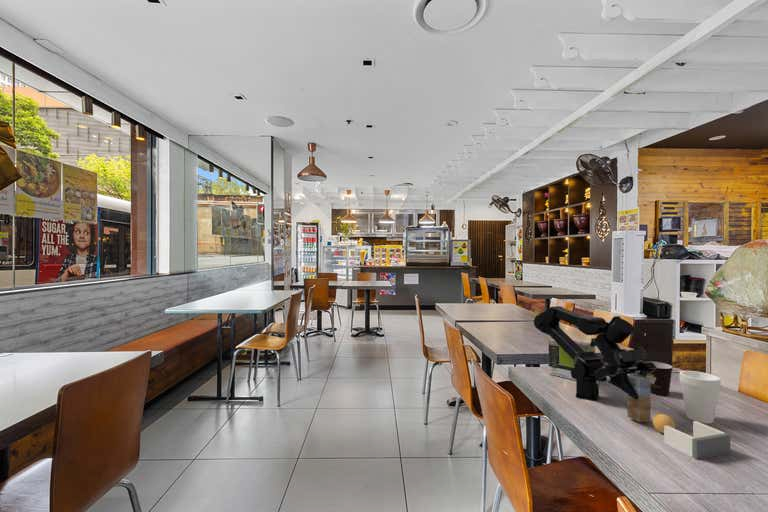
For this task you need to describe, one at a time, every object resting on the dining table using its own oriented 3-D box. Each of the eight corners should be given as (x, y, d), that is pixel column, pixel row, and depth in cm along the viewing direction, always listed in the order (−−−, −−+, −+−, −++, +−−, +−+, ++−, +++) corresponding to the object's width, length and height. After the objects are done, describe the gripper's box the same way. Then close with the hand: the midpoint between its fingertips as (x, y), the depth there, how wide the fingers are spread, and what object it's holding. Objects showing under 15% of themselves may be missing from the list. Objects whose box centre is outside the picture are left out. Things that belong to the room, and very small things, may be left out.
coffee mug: (679, 397, 128) (678, 368, 128) (653, 397, 128) (653, 368, 128) (655, 385, 139) (654, 359, 139) (632, 385, 139) (631, 359, 139)
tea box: (596, 378, 148) (595, 341, 148) (586, 383, 142) (586, 345, 142) (558, 369, 160) (558, 335, 160) (547, 374, 153) (547, 339, 153)
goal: (664, 443, 96) (664, 425, 96) (696, 437, 99) (695, 421, 99) (696, 459, 89) (696, 440, 89) (730, 453, 91) (730, 434, 91)
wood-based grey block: (627, 416, 111) (627, 375, 111) (638, 415, 112) (637, 374, 112) (639, 422, 107) (639, 379, 107) (650, 420, 108) (650, 378, 108)
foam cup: (711, 428, 105) (711, 382, 105) (673, 415, 113) (673, 373, 113) (726, 421, 109) (726, 377, 109) (689, 409, 117) (689, 369, 117)
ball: (653, 434, 101) (653, 416, 101) (651, 426, 106) (651, 409, 106) (676, 438, 99) (676, 420, 99) (673, 431, 103) (673, 413, 103)
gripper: (601, 339, 111) (635, 388, 100) (650, 335, 116) (687, 382, 105) (581, 358, 119) (611, 405, 108) (628, 354, 123) (660, 399, 112)
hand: (643, 398), depth 108 cm, fingers closed on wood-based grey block, 4 cm apart
